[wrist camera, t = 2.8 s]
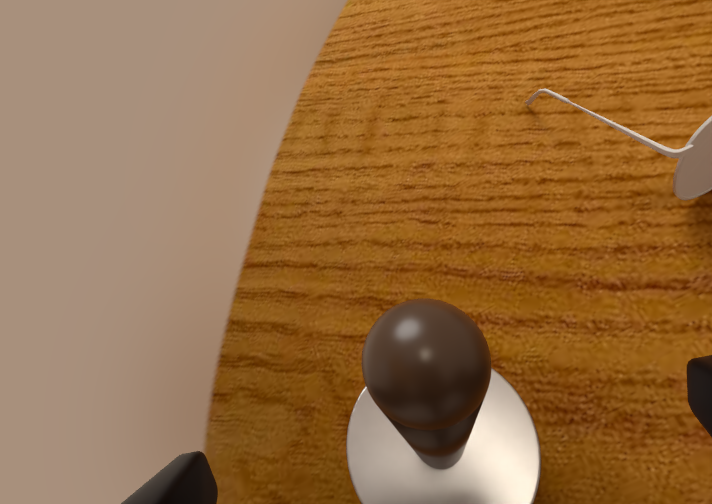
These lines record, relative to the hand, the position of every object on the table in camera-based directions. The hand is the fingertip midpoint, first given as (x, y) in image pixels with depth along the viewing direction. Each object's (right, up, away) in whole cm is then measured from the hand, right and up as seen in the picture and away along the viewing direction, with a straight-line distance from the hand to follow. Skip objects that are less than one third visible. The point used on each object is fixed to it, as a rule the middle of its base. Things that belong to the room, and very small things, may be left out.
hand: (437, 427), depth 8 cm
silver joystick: (+1, -4, +7) cm, 8 cm away
